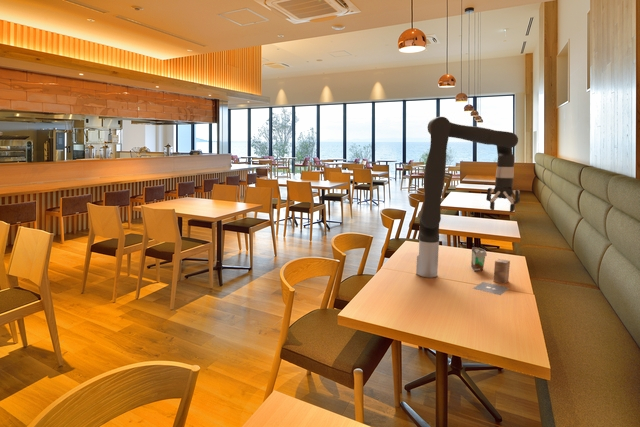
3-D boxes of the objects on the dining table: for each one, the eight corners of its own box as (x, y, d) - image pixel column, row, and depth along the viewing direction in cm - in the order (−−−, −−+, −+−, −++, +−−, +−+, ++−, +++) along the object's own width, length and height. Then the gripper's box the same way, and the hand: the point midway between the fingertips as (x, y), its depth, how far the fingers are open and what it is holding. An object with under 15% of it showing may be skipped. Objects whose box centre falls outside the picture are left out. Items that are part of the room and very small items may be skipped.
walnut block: (493, 281, 190) (495, 261, 188) (497, 279, 194) (498, 258, 192) (504, 284, 187) (506, 263, 185) (508, 281, 190) (509, 260, 189)
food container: (487, 273, 202) (489, 253, 200) (474, 272, 203) (476, 253, 202) (483, 266, 214) (484, 247, 212) (470, 265, 215) (471, 247, 214)
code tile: (472, 288, 181) (472, 288, 181) (482, 281, 190) (482, 281, 190) (500, 295, 173) (500, 295, 173) (510, 288, 182) (510, 287, 182)
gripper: (485, 176, 191) (483, 210, 194) (518, 177, 181) (515, 213, 184) (491, 175, 196) (489, 208, 199) (523, 176, 187) (520, 211, 189)
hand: (501, 211), depth 191 cm, fingers open, 8 cm apart
